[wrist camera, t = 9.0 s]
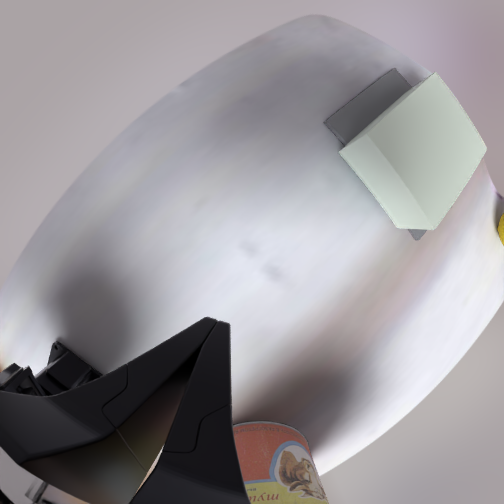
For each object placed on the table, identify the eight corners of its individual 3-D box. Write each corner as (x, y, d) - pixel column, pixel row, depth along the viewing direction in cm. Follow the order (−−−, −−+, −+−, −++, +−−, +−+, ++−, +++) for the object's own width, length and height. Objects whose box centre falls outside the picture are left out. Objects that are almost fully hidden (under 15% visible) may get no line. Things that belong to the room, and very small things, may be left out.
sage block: (434, 229, 16) (487, 148, 16) (366, 134, 15) (435, 71, 15) (397, 228, 21) (453, 157, 21) (338, 152, 20) (406, 91, 20)
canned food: (329, 444, 23) (366, 524, 11) (260, 491, 24) (271, 566, 12) (249, 403, 22) (262, 510, 10) (181, 459, 22) (167, 545, 10)
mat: (415, 239, 22) (418, 240, 21) (323, 122, 20) (326, 120, 19) (465, 171, 21) (469, 170, 21) (391, 70, 20) (394, 67, 19)
